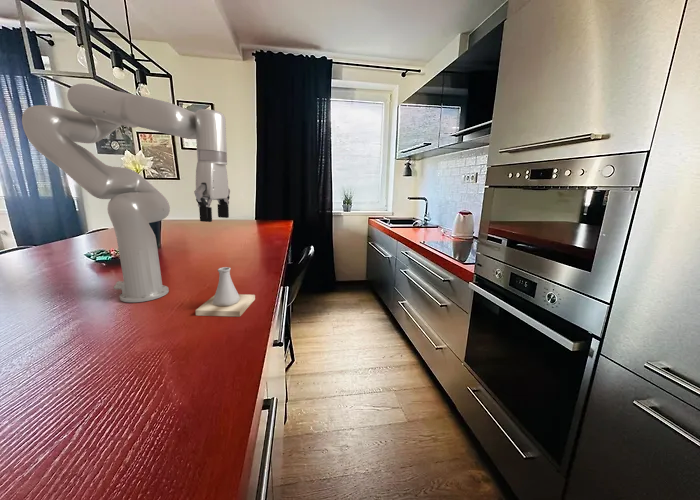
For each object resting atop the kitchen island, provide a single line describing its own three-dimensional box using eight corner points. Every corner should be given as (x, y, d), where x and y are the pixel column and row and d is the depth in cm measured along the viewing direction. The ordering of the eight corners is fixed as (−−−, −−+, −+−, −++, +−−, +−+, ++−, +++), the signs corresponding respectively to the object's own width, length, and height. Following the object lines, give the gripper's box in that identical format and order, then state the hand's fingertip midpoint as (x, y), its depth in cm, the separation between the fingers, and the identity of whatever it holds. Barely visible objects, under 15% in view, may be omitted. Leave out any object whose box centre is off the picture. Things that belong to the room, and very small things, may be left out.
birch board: (195, 315, 79) (195, 310, 79) (216, 298, 91) (216, 293, 90) (240, 316, 79) (239, 311, 79) (255, 299, 91) (254, 294, 90)
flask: (230, 308, 80) (227, 273, 78) (207, 305, 82) (204, 271, 80) (245, 298, 87) (243, 266, 85) (223, 296, 89) (220, 264, 87)
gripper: (215, 160, 91) (217, 215, 94) (179, 154, 74) (184, 222, 78) (239, 161, 90) (240, 217, 94) (208, 156, 73) (212, 224, 77)
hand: (215, 219), depth 86 cm, fingers open, 9 cm apart
